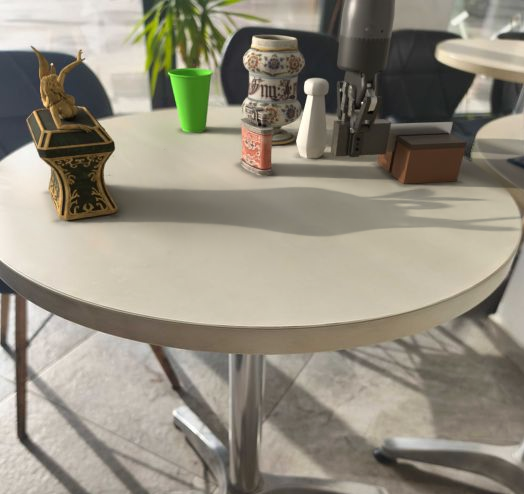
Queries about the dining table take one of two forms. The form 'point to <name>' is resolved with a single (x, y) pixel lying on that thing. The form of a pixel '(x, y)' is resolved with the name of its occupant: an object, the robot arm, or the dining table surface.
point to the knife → (383, 135)
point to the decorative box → (71, 148)
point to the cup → (191, 97)
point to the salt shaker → (313, 120)
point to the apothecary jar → (274, 81)
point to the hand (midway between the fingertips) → (350, 153)
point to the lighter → (256, 141)
